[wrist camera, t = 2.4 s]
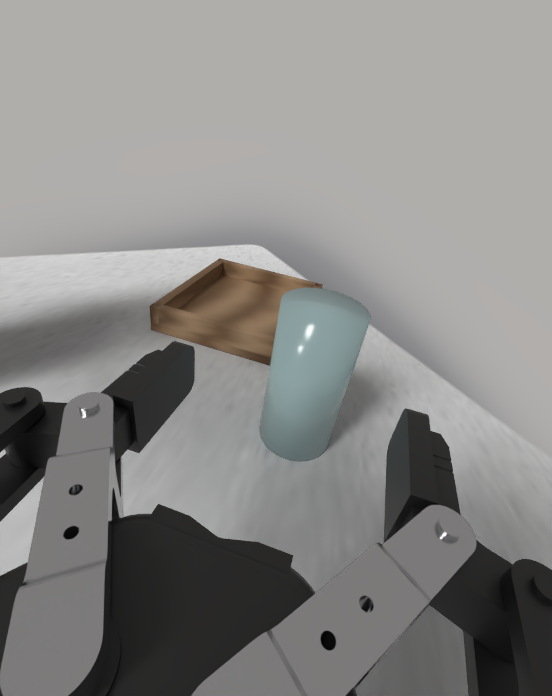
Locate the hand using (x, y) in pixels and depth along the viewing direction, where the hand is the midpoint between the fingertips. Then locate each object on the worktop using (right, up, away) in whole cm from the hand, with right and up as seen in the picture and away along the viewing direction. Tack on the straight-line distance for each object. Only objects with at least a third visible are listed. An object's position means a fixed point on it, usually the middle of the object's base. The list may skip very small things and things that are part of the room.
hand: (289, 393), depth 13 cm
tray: (-4, +6, +33) cm, 33 cm away
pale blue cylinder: (+1, -5, +17) cm, 18 cm away
